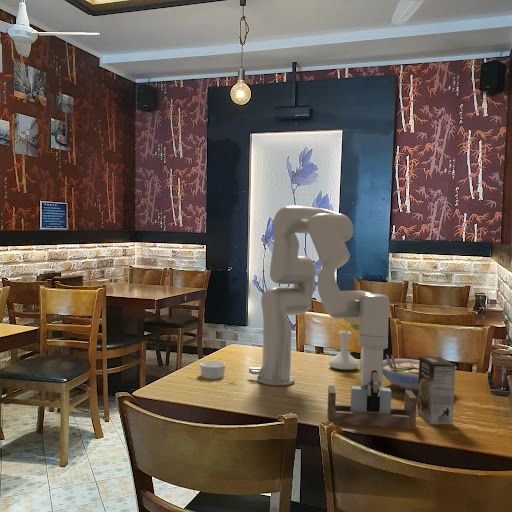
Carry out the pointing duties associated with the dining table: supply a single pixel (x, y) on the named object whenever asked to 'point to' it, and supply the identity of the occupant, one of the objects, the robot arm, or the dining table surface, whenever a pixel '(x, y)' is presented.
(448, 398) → the coffee box
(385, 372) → the ramen bowl
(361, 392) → the light grey rectangular block
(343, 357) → the flower in vase
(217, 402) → the dining table surface
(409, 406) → the frame
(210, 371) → the ramekin
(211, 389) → the dining table surface
